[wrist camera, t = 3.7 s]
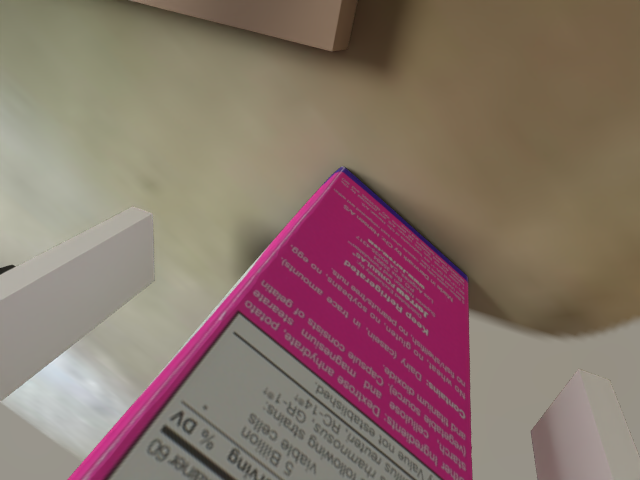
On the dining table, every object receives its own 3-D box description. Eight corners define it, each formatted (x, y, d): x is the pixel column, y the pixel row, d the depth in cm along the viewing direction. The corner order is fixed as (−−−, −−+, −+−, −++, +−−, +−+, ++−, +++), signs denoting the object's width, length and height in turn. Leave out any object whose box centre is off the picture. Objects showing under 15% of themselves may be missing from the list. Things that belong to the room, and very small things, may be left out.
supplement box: (366, 358, 16) (212, 831, 7) (255, 263, 16) (-75, 616, 6) (479, 279, 13) (496, 950, 4) (344, 158, 13) (-38, 541, 3)
